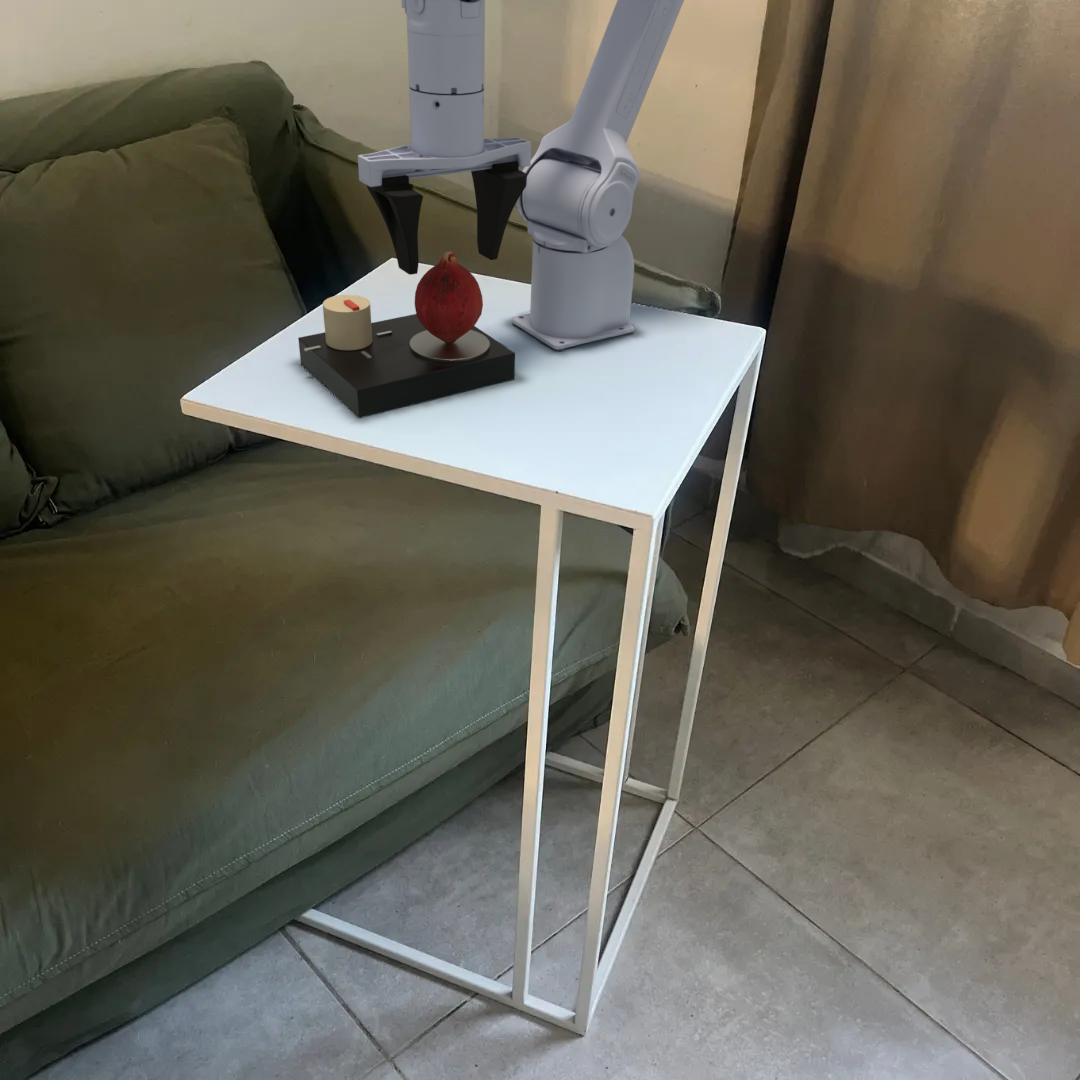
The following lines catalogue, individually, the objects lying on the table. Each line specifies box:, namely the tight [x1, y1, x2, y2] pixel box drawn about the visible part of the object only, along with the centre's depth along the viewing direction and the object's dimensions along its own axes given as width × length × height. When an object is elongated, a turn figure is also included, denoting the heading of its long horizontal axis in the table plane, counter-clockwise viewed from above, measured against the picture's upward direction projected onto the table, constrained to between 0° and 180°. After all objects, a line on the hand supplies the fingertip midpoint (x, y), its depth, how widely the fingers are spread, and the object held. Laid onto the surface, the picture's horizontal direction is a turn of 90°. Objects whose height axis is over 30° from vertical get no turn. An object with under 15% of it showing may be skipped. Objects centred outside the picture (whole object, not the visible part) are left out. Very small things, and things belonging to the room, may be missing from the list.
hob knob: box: [322, 294, 372, 350], centre depth 87 cm, size 4×4×4 cm
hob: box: [297, 313, 516, 418], centre depth 89 cm, size 16×13×3 cm
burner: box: [410, 330, 490, 363], centre depth 89 cm, size 7×7×1 cm
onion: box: [414, 250, 484, 343], centre depth 86 cm, size 6×6×8 cm
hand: (448, 263), depth 84 cm, fingers open, 7 cm apart
